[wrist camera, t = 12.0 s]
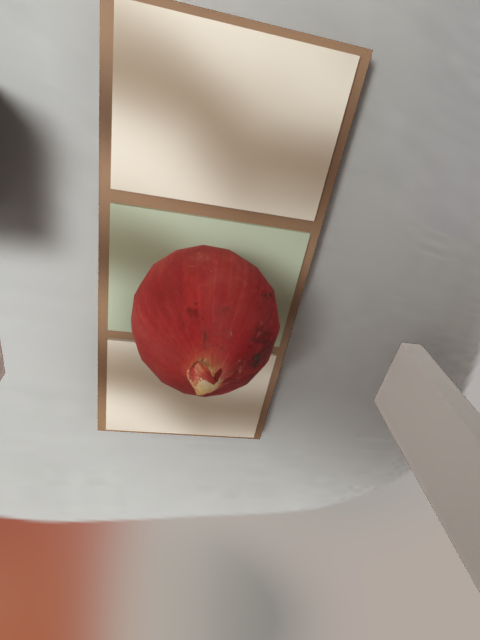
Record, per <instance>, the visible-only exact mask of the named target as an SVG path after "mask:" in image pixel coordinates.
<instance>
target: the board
mask: <svg viewBox="0 0 480 640" xmlns="http://www.w3.org/2000/svg"><path fill="white" fill-rule="evenodd" d="M372 52H373V50H370V49H366V48H362V47H358V46H354V45H350V44H346V43H342V42H338V41H334V40H330V39H326V38H322V37H318V36H314V35H310V34H306V33H302V32H298V31H294V30H290V29H286V28H282V27H278V26H274V25H270V24H266V23H262V22H258V21H254V20H250V19H246V18H242V17H238V16H234V15H230V14H226V13H222V12H218V11H214V10H210V9H206V8H202V7H198V6H194V5H190V4H186V3H182V2H178V1H174V0H100V97H99V280H98V430H101V431H119V432H138V433H156V434H175V435H193V436H211V437H230V438H248V439H260V437H261V434H262V430H263V427H264V423H265V420H266V416H267V413H268V409H269V406H270V403H271V399H272V396H273V392H274V389H275V385H276V382H277V378H278V375H279V372H280V368H281V365H282V361H283V358H284V354H285V351H286V348H287V344H288V341H289V337H290V334H291V330H292V327H293V323H294V320H295V317H296V313H297V310H298V306H299V303H300V299H301V296H302V292H303V289H304V286H305V282H306V279H307V275H308V272H309V268H310V265H311V262H312V258H313V255H314V251H315V248H316V244H317V241H318V237H319V234H320V231H321V227H322V224H323V220H324V217H325V213H326V210H327V206H328V203H329V200H330V196H331V193H332V189H333V186H334V182H335V179H336V175H337V172H338V169H339V165H340V162H341V158H342V155H343V151H344V148H345V145H346V141H347V138H348V134H349V131H350V127H351V124H352V120H353V117H354V114H355V110H356V107H357V103H358V100H359V96H360V93H361V89H362V86H363V83H364V79H365V76H366V72H367V69H368V65H369V62H370V59H371V55H372ZM199 245H207V246H213V247H218V248H223V249H229V250H231V251H232V252H234V253H236V254H237V255H239V256H240V257H242V258H244V259H245V260H247V261H248V262H250V263H252V264H253V265H254V266H256V267H257V268H258V269H259V270H260V272H261V273H262V274H263V276H264V277H265V279H266V280H267V281H268V283H269V284H270V285H271V287H272V288H273V289H274V292H275V298H276V304H277V310H278V316H279V323H280V330H279V333H278V336H277V339H276V342H275V344H274V347H273V350H272V353H271V355H270V358H269V361H268V362H267V363H266V365H265V366H264V367H263V368H262V369H261V370H260V371H259V372H258V373H257V375H256V376H255V377H254V378H253V379H252V380H251V381H250V382H249V383H248V384H247V385H245V386H243V387H240V388H238V389H236V390H233V391H231V392H229V393H225V394H223V395H215V396H208V397H201V396H195V395H189V394H184V393H182V392H180V391H178V390H176V389H174V388H172V387H170V386H168V385H166V384H164V383H162V382H161V381H160V380H159V379H158V377H157V376H156V375H155V374H154V373H153V372H152V371H151V370H150V369H149V367H148V366H147V365H146V364H145V363H144V362H143V361H142V359H141V357H140V355H139V352H138V349H137V346H136V343H135V339H134V336H133V333H132V328H131V315H132V308H133V300H134V295H135V293H136V291H137V289H138V287H139V285H140V284H141V282H142V281H143V279H144V278H145V276H146V275H147V273H148V271H149V270H150V268H151V267H152V265H153V264H155V263H156V262H158V261H159V260H161V259H163V258H164V257H166V256H167V255H169V254H171V253H172V252H174V251H175V250H179V249H184V248H189V247H194V246H199Z"/></svg>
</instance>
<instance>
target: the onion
mask: <svg viewBox="0 0 480 640" xmlns="http://www.w3.org/2000/svg"><path fill="white" fill-rule="evenodd" d="M131 328H132V333H133V336H134V339H135V343H136V346H137V349H138V352H139V355H140V357H141V359H142V361H143V362H144V363H145V364H146V365H147V366H148V367H149V369H150V370H151V371H152V372H153V373H154V374H155V375H156V376H157V377H158V379H159V380H160V381H161V382H162V383H164V384H166V385H168V386H170V387H172V388H174V389H176V390H178V391H180V392H182V393H184V394H189V395H195V396H201V397H208V396H215V395H223V394H225V393H229V392H231V391H233V390H236V389H238V388H240V387H243V386H245V385H247V384H248V383H249V382H250V381H251V380H252V379H253V378H254V377H255V376H256V375H257V373H258V372H259V371H260V370H261V369H262V368H263V367H264V366H265V365H266V363H267V362H268V361H269V358H270V355H271V353H272V350H273V347H274V344H275V342H276V339H277V336H278V333H279V330H280V323H279V316H278V310H277V304H276V298H275V292H274V289H273V288H272V287H271V285H270V284H269V283H268V281H267V280H266V279H265V277H264V276H263V274H262V273H261V272H260V270H259V269H258V268H257V267H256V266H254V265H253V264H252V263H250V262H248V261H247V260H245V259H244V258H242V257H240V256H239V255H237V254H236V253H234V252H232V251H231V250H229V249H223V248H218V247H213V246H207V245H199V246H194V247H189V248H184V249H179V250H175V251H174V252H172V253H171V254H169V255H167V256H166V257H164V258H163V259H161V260H159V261H158V262H156V263H155V264H153V265H152V267H151V268H150V270H149V271H148V273H147V275H146V276H145V278H144V279H143V281H142V282H141V284H140V285H139V287H138V289H137V291H136V293H135V295H134V300H133V308H132V315H131Z"/></svg>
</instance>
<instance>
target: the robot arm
mask: <svg viewBox="0 0 480 640" xmlns="http://www.w3.org/2000/svg"><path fill="white" fill-rule="evenodd" d="M4 374H5V368H4V362H3V355H2V349H1V342H0V381H1V379H2V377H3V376H4ZM374 402H375V404H376V406H377V408H378V410H379V412H380V413H381V415H382V417H383V419H384V421H385V422H386V424H387V426H388V428H389V430H390V431H391V433H392V435H393V437H394V439H395V441H396V442H397V444H398V446H399V448H400V450H401V451H402V453H403V455H404V457H405V459H406V460H407V462H408V464H409V466H410V468H411V470H412V471H413V473H414V475H415V477H416V479H417V480H418V482H419V484H420V486H421V488H422V489H423V491H424V493H425V495H426V496H427V498H428V500H429V502H430V504H431V506H432V508H433V509H434V511H435V513H436V515H437V517H438V518H439V520H440V522H441V524H442V526H443V527H444V529H445V531H446V533H447V535H448V537H449V538H450V540H451V542H452V544H453V546H454V547H455V549H456V551H457V553H458V555H459V557H460V558H461V560H462V562H463V564H464V566H465V567H466V569H467V571H468V573H469V575H470V576H471V578H472V580H473V582H474V584H475V585H476V587H477V589H478V591H479V592H480V414H479V413H478V412H477V411H476V409H475V408H474V407H473V406H472V404H471V403H470V402H469V401H468V400H467V399H466V397H465V396H464V395H463V394H462V393H461V391H460V390H459V389H458V388H457V387H456V386H455V384H454V383H453V382H452V381H451V380H450V378H449V377H448V376H447V375H446V374H445V373H444V371H443V370H442V369H441V368H440V367H439V365H438V364H437V363H436V362H435V361H434V360H433V358H432V357H431V356H430V355H429V354H428V352H427V351H426V350H425V349H424V348H423V346H422V345H418V344H409V343H401V345H400V347H399V349H398V351H397V353H396V355H395V357H394V359H393V361H392V364H391V366H390V368H389V370H388V372H387V374H386V376H385V378H384V380H383V382H382V384H381V386H380V388H379V391H378V393H377V395H376V397H375V399H374Z"/></svg>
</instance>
